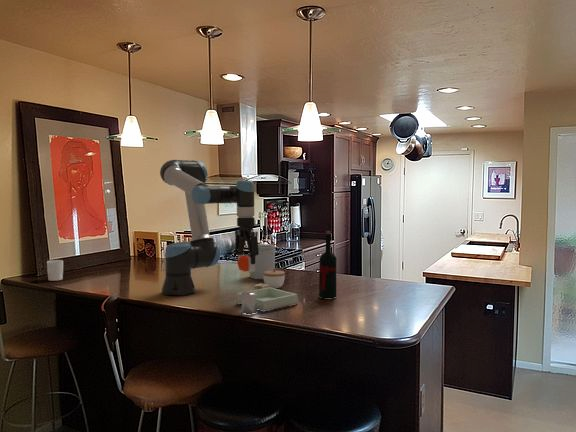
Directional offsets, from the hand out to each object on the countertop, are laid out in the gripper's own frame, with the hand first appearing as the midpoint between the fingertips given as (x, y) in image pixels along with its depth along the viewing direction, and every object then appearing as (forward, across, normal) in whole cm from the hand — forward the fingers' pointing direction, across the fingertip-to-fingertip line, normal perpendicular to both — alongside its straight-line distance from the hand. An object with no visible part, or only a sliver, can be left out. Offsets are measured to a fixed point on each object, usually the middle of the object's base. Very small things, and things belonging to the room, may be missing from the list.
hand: (246, 270), depth 194 cm
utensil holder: (+13, +42, -39) cm, 58 cm away
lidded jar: (+14, +16, -28) cm, 35 cm away
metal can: (+14, -14, +9) cm, 22 cm away
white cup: (+11, +106, +50) cm, 117 cm away
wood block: (+14, +7, -13) cm, 20 cm away
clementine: (0, 0, 0) cm, 1 cm away
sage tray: (+14, -7, -5) cm, 17 cm away
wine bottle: (+15, -16, -32) cm, 39 cm away
